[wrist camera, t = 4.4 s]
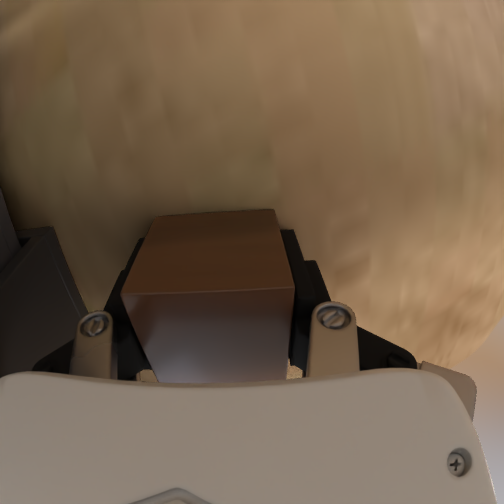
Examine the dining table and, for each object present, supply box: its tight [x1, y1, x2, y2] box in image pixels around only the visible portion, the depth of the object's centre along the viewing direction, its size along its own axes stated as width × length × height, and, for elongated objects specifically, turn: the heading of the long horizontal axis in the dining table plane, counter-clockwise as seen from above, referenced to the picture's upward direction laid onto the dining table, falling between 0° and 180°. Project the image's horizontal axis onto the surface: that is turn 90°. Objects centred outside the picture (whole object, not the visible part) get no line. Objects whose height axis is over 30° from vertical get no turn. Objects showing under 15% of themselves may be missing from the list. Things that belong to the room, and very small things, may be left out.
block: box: [120, 209, 295, 383], centre depth 10 cm, size 4×4×4 cm
